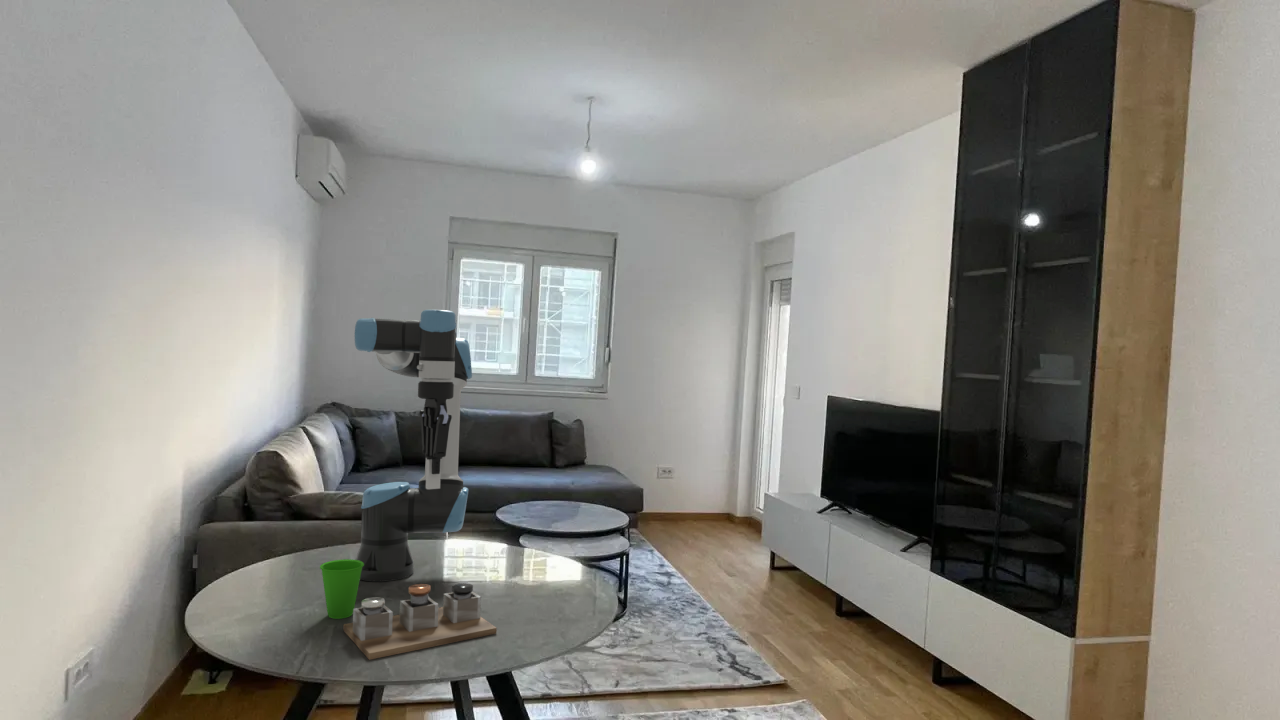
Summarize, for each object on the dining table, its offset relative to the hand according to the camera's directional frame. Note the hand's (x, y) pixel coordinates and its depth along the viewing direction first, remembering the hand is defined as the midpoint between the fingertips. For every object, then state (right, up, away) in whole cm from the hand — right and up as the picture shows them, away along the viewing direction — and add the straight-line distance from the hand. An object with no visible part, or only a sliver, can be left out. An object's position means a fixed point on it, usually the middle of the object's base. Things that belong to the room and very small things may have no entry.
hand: (432, 488), depth 165 cm
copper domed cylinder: (-1, -24, -8) cm, 25 cm away
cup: (-20, -28, 0) cm, 35 cm away
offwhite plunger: (-9, -25, -13) cm, 30 cm away
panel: (0, -28, -8) cm, 30 cm away
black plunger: (+7, -26, -2) cm, 27 cm away
